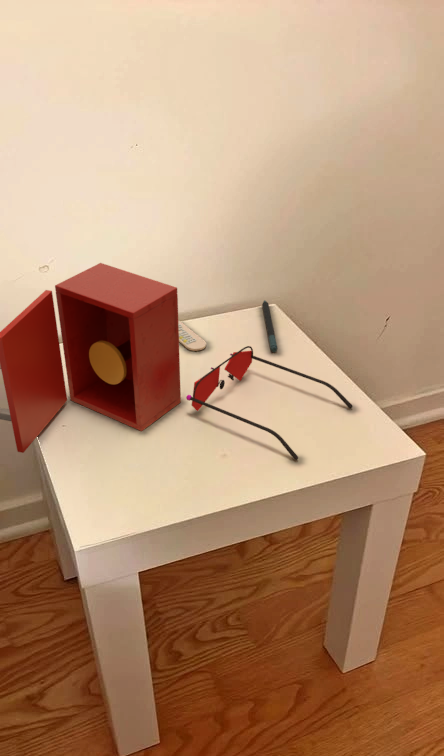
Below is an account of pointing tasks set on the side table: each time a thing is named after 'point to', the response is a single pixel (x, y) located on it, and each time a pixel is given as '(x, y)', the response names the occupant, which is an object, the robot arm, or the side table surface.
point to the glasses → (237, 369)
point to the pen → (269, 326)
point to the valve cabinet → (120, 344)
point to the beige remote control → (190, 338)
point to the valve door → (32, 370)
